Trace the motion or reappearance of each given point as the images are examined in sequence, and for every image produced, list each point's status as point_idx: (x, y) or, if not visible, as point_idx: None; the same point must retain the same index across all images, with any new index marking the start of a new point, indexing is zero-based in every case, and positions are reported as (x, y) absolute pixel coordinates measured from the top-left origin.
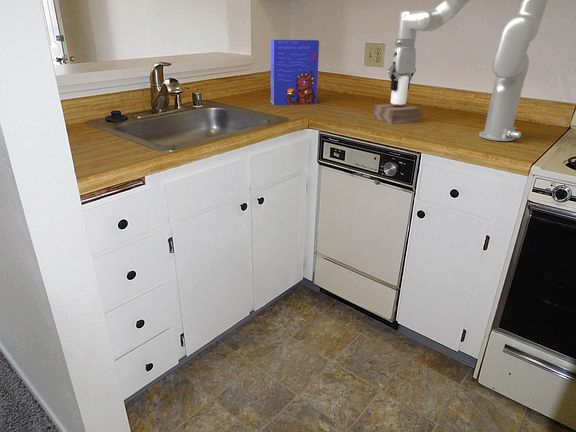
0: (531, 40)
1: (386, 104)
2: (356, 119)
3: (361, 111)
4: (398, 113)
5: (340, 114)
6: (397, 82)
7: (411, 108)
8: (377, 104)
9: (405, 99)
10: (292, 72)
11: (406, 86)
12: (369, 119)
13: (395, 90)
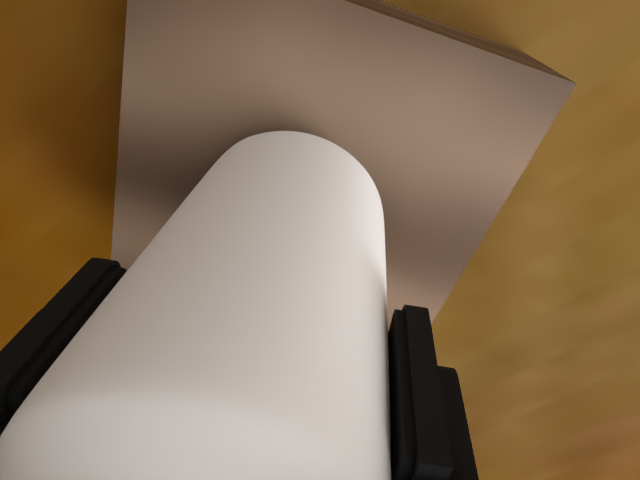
0: None
1: None
2: (557, 327)
3: None
4: (482, 45)
5: (484, 447)
6: (429, 427)
7: (250, 22)
8: None
9: (263, 150)
10: None
11: (223, 258)
12: (482, 278)
13: (424, 314)
